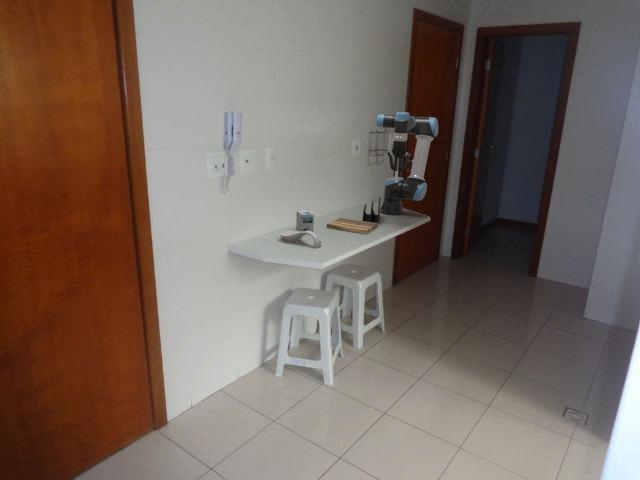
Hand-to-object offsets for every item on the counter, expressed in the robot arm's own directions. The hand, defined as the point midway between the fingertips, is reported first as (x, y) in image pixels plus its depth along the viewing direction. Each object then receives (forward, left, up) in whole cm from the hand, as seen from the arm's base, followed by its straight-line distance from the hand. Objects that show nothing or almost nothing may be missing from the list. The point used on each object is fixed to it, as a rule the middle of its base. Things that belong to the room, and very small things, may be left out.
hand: (396, 182), depth 269 cm
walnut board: (+10, -19, -26) cm, 34 cm away
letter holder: (-9, -16, -27) cm, 33 cm away
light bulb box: (+39, -38, -27) cm, 61 cm away
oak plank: (+20, -19, -26) cm, 38 cm away
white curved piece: (+59, -30, -27) cm, 71 cm away
